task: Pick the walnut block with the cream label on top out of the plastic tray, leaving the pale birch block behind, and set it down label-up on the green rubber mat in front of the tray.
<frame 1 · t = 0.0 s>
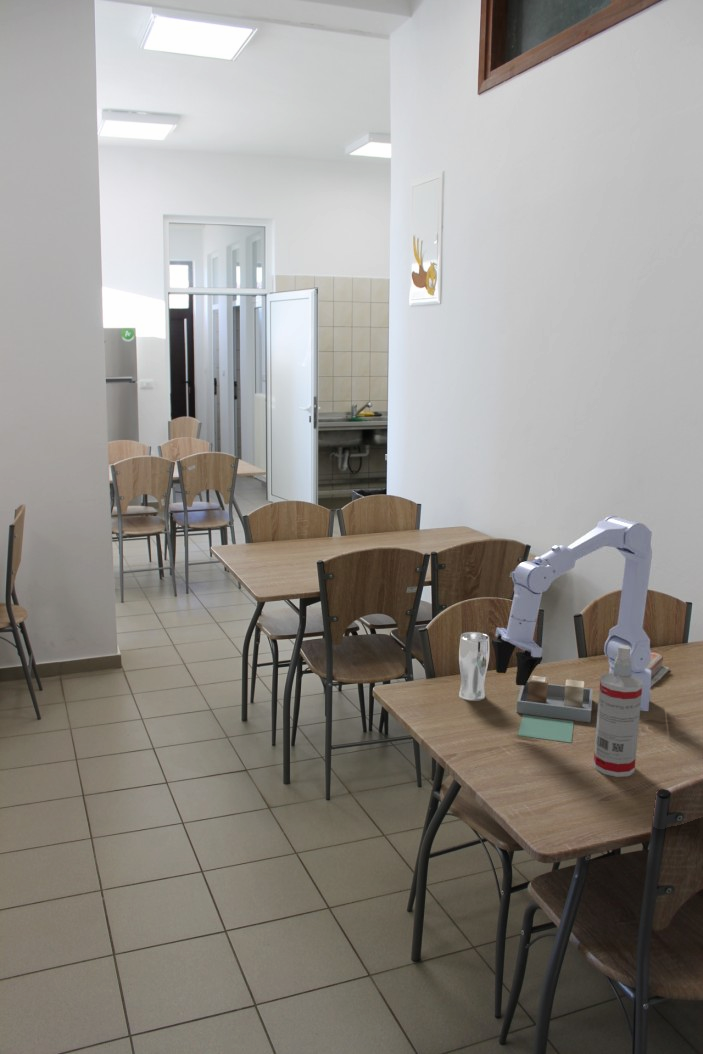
hand: (510, 678, 191), 11 cm above the table, tool pointing down, fingers open, 7 cm apart
tray: (554, 708, 202), on the table
birch block: (572, 708, 201), resting on tray
walnut block: (537, 703, 203), resting on tray
spray bottle: (613, 768, 174), on the table
packaged product: (638, 678, 224), on the table
beer glass: (471, 698, 208), on the table
mat: (546, 730, 190), on the table
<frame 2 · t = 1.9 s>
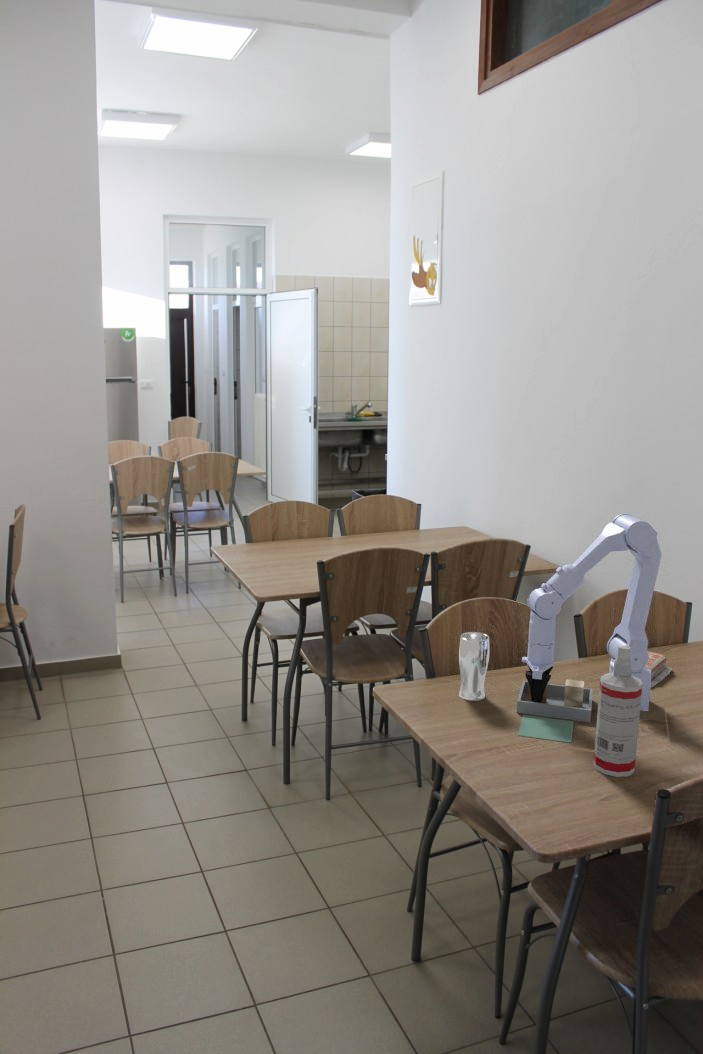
hand: (537, 698, 203), 2 cm above the table, tool pointing down, fingers closed on walnut block, 4 cm apart
walnut block: (537, 703, 203), resting on tray, touching gripper
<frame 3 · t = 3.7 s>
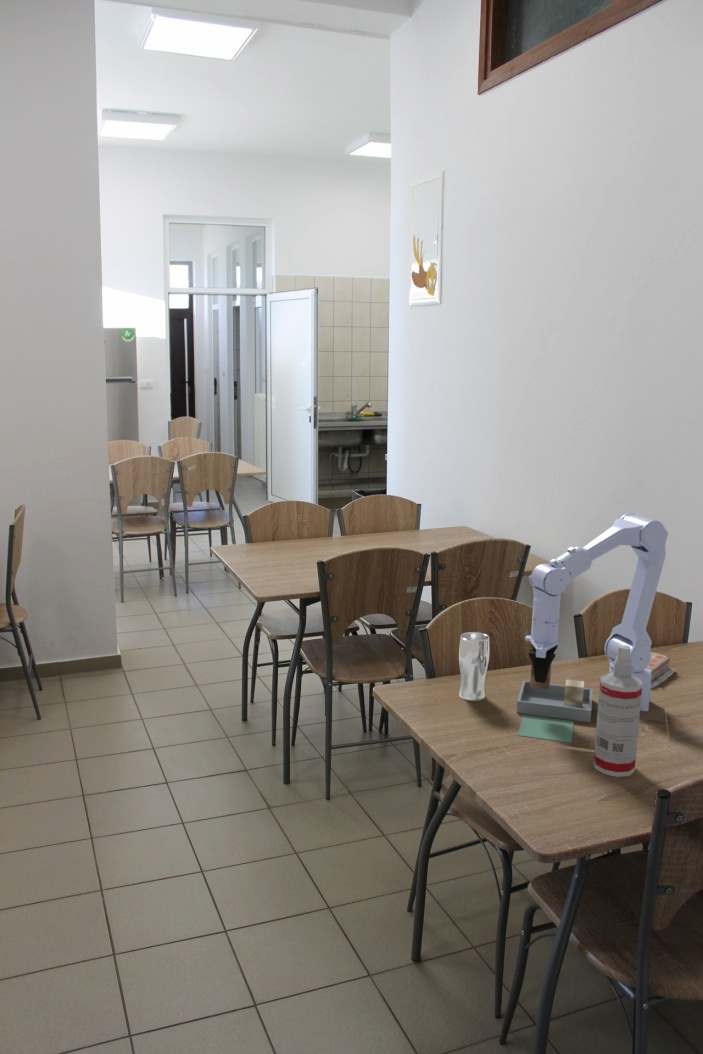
hand: (541, 678, 196), 9 cm above the table, tool pointing down, fingers closed on walnut block, 4 cm apart
walnut block: (540, 684, 196), point 7 cm above the table, touching gripper
when the fingers open (4 cm above the table, at t = 5.5 s): walnut block drops 1 cm, resting on mat.
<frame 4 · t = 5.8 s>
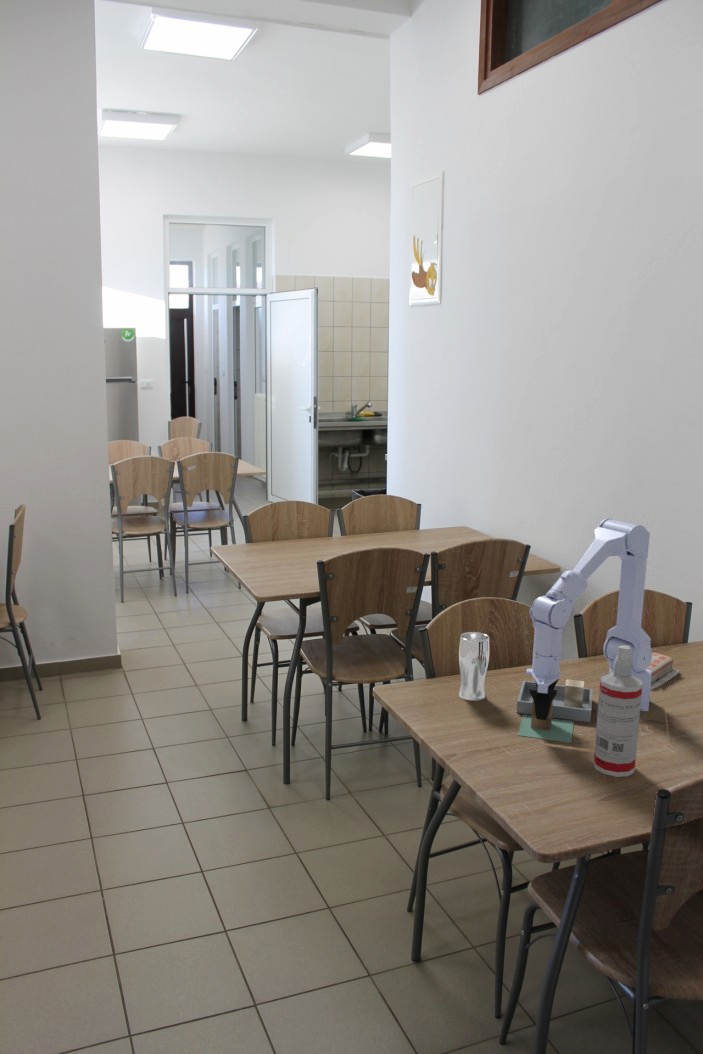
hand: (542, 712, 191), 4 cm above the table, tool pointing down, fingers open, 6 cm apart
walnut block: (541, 725, 192), point 1 cm above the table, touching mat
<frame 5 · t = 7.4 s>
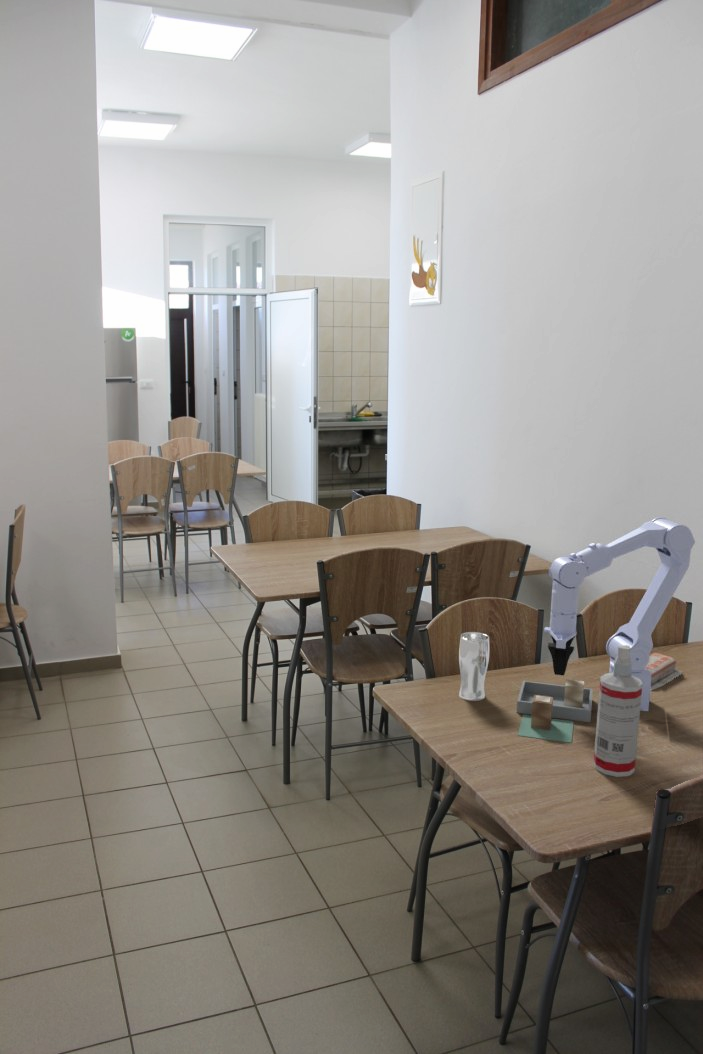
hand: (560, 668, 201), 9 cm above the table, tool pointing down, fingers open, 7 cm apart
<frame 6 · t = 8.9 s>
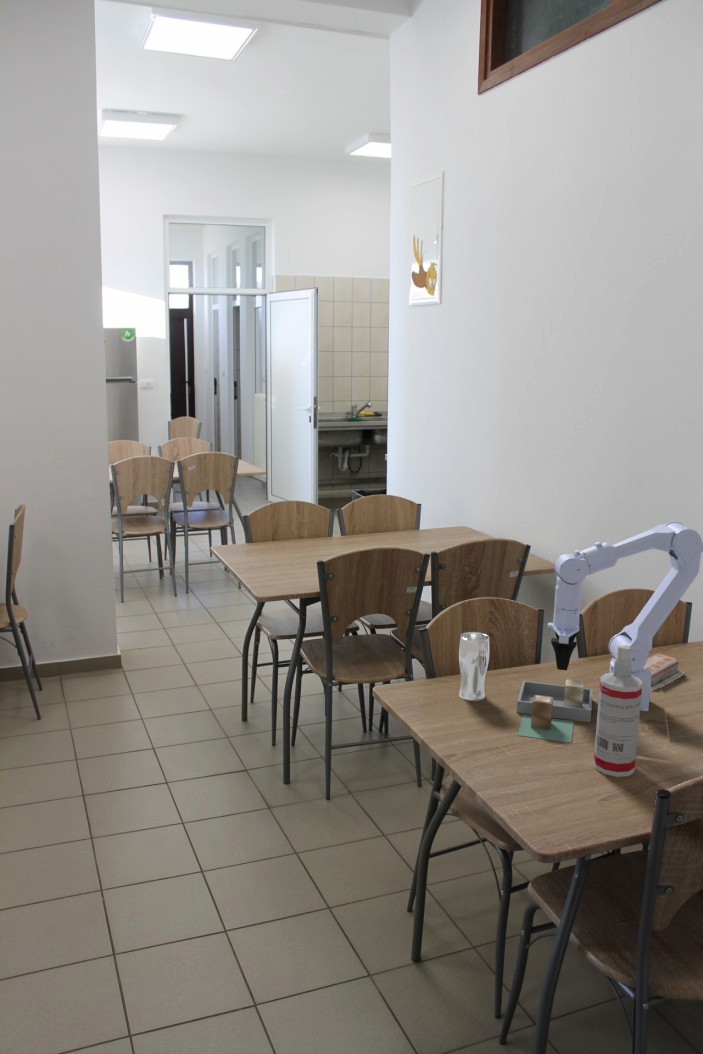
hand: (563, 663, 204), 9 cm above the table, tool pointing down, fingers open, 7 cm apart
at the end: walnut block inside the target area on the mat (1.6 cm from its centre), point 0.6 cm above the mat's base; walnut block tilted 0°; birch block moved 0.0 cm from its start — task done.
